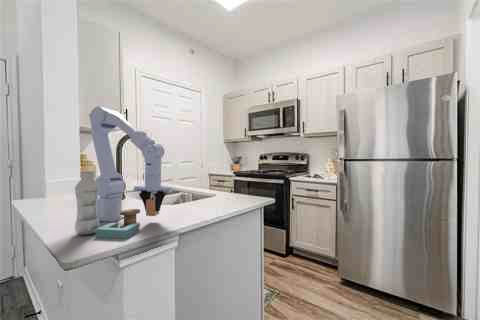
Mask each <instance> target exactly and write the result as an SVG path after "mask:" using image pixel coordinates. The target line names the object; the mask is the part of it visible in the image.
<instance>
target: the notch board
mask: <svg viewBox="0 0 480 320" xmlns="http://www.w3.org/2000/svg"><path fill="white" fill-rule="evenodd" d="M138 232H140V227H139V224H134V223H132V224H130V225H128V226H126V227H124V228H120V227H119V223H118V222H109V223H107V224H105V225H102V226H99V228H97V229H96V232H95V238H103V239H105V238H106V239H128V238H130V237H132V236H133V235H135V234H137V233H138Z"/></svg>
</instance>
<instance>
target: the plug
mask: <svg viewBox="0 0 480 320" xmlns="http://www.w3.org/2000/svg"><path fill="white" fill-rule="evenodd" d="M159 214H160V211H158V212H156V202H155V196H151V198H150V199H147V200H146V211H145V216H147V217H156V216H158V215H159Z"/></svg>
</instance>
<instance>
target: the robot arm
mask: <svg viewBox="0 0 480 320" xmlns="http://www.w3.org/2000/svg"><path fill="white" fill-rule="evenodd" d="M88 116H89V117H88V118H89V121H90V126H91V127H90V133H91V139H92V141H93V142H92V143H93V147H94V150H95V156H96V159H97V165H98V168H99V173H100V175H99V176H98V177H97V178H95V181H96V183H97V184H98V186H99V193H98V201H97V211H98V218H99V222H116V221H119V220H121V219H124V215H120V211H122V210H123V209H122V208H123V205H122V204H123V200H122V199H123V198H122V197H123V195H124V193H125V191H126V190H127V184H126V181H125V180H124V179H123V176H122V175H121V173H119V172H118V171H117V169H116V164H115V160H114V155H113V151H112V147H111V142H110V139H109V133H111V132H113V130H115V129H116V128H119V129H120V130H121V131H122V132H124V134H126V135H127V136H129V137H130V138H129V139H130V142H131V143H132V144H133V145H134V146H135V147H136V148H137V149H138V150H139V151H141V156H143V158H144V165H145V166H144V185H134V186H133V192H140V193H138V195H139V197H140V199H141V201H142V203H143V206H144V209H145V210H144V211H145V212H146V200H147V199H150V198H151V197H152V192H153V193H154V194H153V195H154V196H153V197H155V202H156V212H158V211H159V212H161V206H162V203H163V201H164V198H165V197H166V195H167V193H168V194H169V193H170V194H171V193H173V186H162V158H163V157H164V155H165V148H164V146H162V144H160V143H156V140H154V139H151V137H149V136H148V135H147V132H146V131H144V130H143V131H142V130H137V129H136V128H135V127H134V126H133V125H132V124H131V123H130V122H129V120H127V119H126V118H125V117H124V115H123V114H121V113H120V112H119V111H117V110H111V109H108V108H104V107H102V106H95V107H94V108H92V110H91V111H90V113H89V114H88Z"/></svg>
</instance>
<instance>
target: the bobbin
mask: <svg viewBox="0 0 480 320" xmlns="http://www.w3.org/2000/svg"><path fill="white" fill-rule="evenodd" d="M140 213H141V209H139V208H129V209H128V208H127V209H124V210H123V209H122V211H120V215H124V218H123V223H122V224H120V225H119V228H124V227H126V226H128V225H130V224H132V223H134V224H139V228H140V226H141V223H140V222H137V215H138V214H140Z"/></svg>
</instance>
